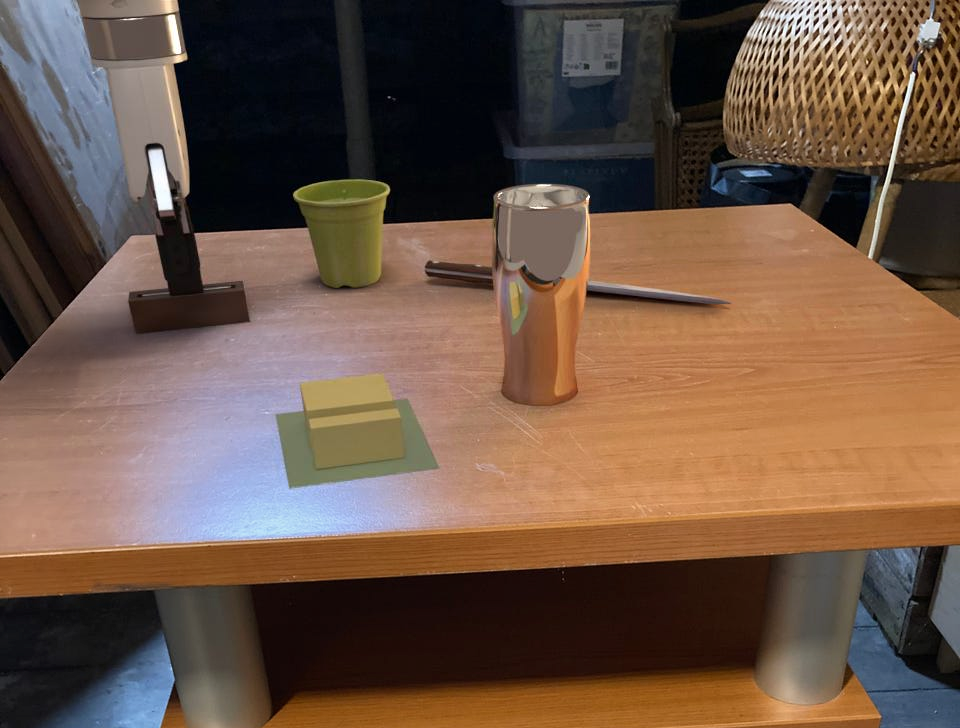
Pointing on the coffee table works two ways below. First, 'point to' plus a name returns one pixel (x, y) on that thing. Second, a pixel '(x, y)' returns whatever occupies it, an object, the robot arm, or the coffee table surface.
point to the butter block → (345, 397)
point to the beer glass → (540, 287)
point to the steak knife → (485, 276)
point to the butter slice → (356, 438)
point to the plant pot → (345, 229)
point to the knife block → (188, 308)
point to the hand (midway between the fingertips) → (183, 273)
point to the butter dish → (306, 474)
